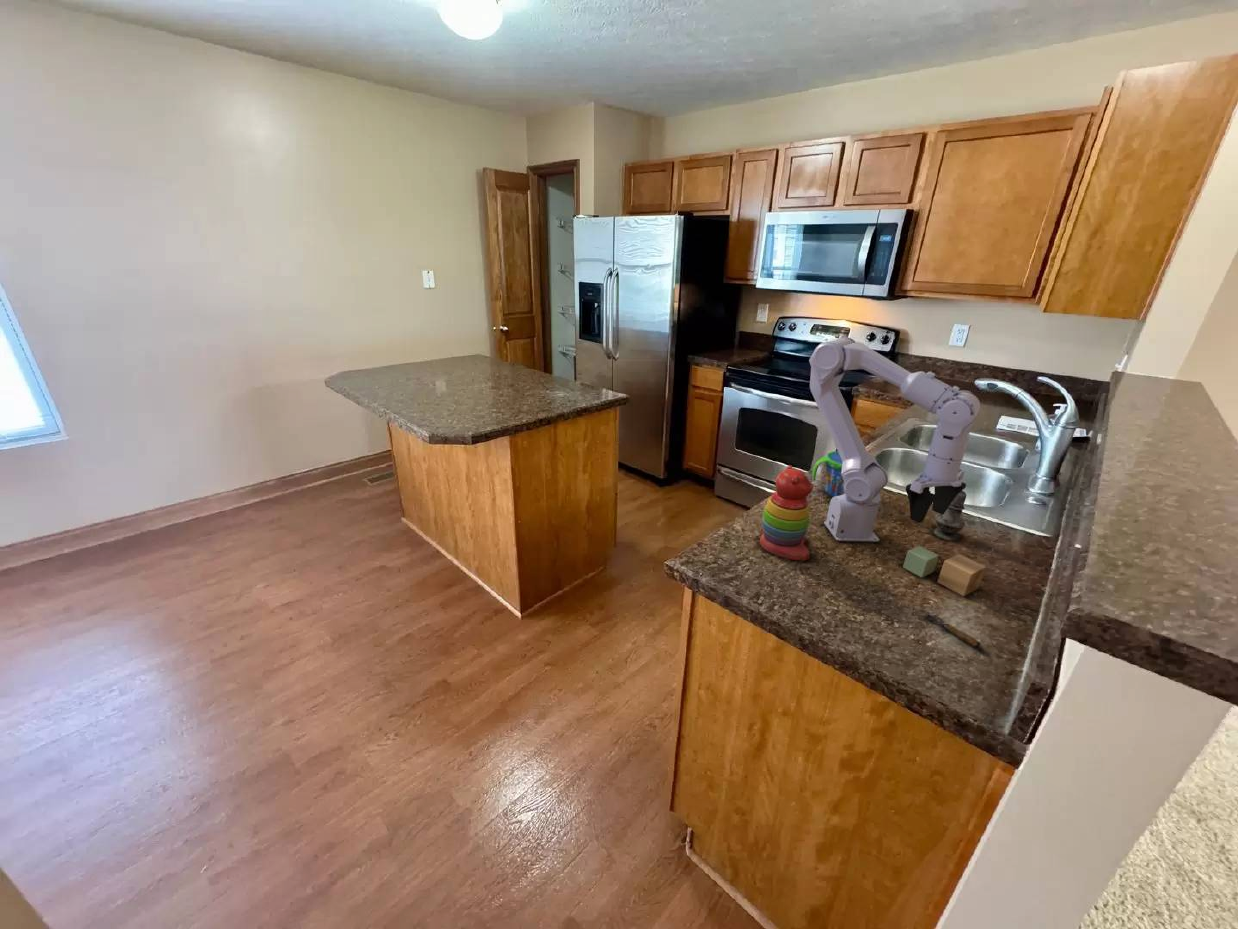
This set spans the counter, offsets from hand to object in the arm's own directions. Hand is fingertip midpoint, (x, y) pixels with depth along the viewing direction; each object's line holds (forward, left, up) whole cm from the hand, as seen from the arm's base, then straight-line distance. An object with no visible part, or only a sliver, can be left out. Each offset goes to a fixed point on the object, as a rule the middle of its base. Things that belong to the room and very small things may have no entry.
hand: (927, 516), depth 104 cm
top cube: (-2, -5, -9) cm, 11 cm away
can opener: (-6, -23, -9) cm, 26 cm away
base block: (+3, -10, -9) cm, 14 cm away
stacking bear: (-27, +3, -10) cm, 29 cm away
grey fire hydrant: (+12, +9, -10) cm, 17 cm away
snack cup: (-5, +28, -10) cm, 30 cm away
